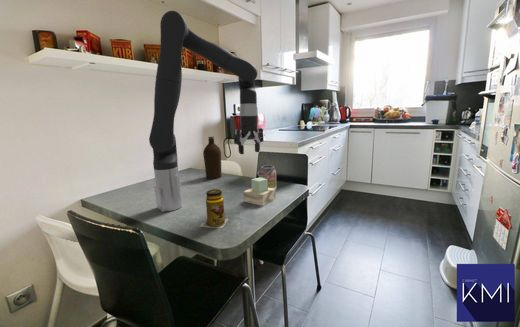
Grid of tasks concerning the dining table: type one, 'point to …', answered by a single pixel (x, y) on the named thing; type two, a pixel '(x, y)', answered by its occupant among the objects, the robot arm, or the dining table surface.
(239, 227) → the dining table surface
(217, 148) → the olive oil
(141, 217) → the dining table surface
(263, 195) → the maple block
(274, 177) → the patterned jar
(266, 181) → the green cube
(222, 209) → the condiment
